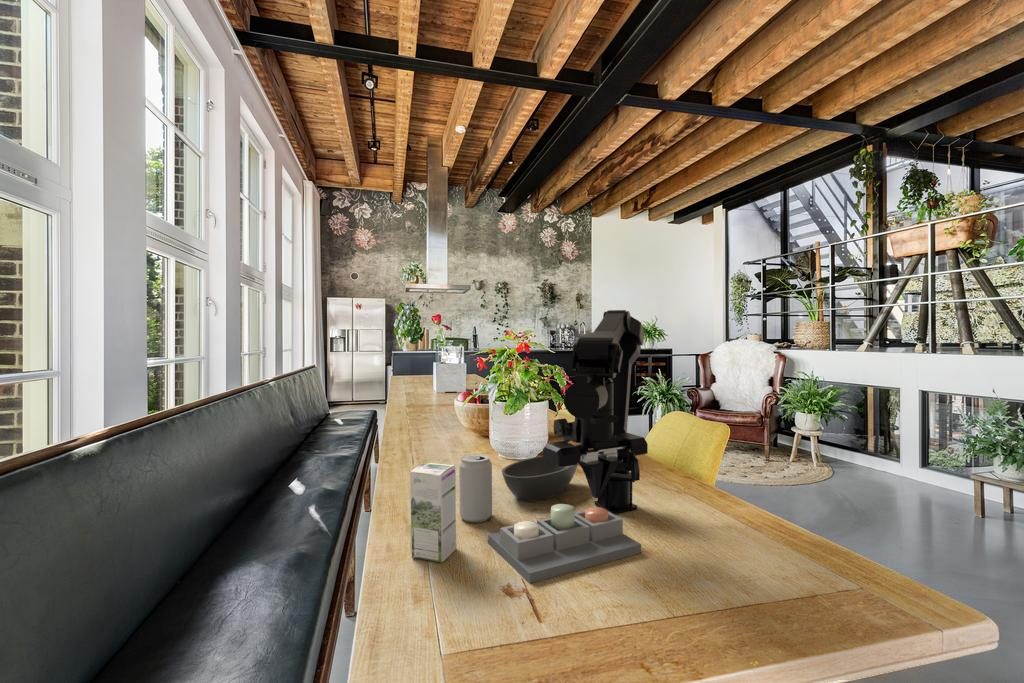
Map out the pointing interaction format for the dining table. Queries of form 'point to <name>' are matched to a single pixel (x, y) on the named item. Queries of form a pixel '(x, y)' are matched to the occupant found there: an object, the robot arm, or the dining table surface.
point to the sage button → (562, 517)
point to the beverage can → (475, 487)
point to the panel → (564, 547)
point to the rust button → (596, 514)
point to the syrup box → (433, 511)
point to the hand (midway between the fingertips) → (596, 497)
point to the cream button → (526, 530)
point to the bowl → (537, 478)
